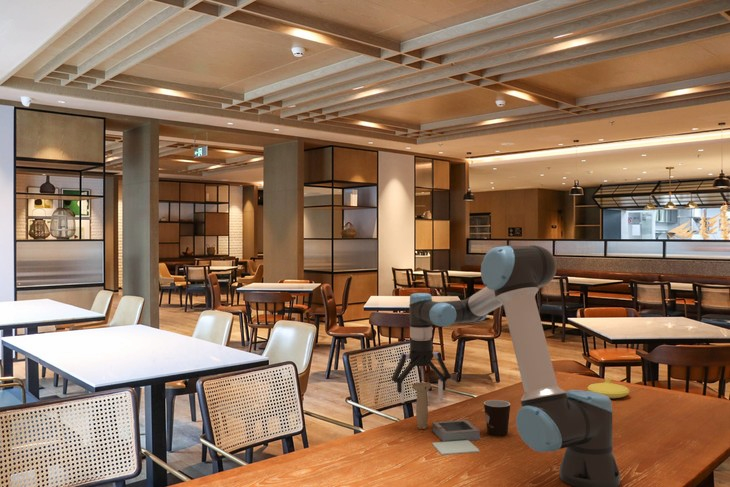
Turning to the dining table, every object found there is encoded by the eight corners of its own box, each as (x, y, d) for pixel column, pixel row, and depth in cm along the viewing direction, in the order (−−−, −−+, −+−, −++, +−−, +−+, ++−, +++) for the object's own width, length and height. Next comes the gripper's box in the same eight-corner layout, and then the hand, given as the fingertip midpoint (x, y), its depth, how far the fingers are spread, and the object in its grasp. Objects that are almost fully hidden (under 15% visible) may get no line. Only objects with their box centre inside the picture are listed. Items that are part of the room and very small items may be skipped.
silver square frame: (479, 439, 198) (479, 429, 198) (443, 442, 195) (443, 432, 195) (466, 428, 209) (466, 418, 209) (432, 431, 207) (432, 421, 207)
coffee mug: (511, 438, 198) (510, 407, 198) (484, 437, 200) (483, 406, 200) (510, 427, 210) (509, 398, 210) (484, 426, 212) (484, 397, 211)
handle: (410, 427, 211) (409, 383, 211) (426, 424, 214) (425, 381, 214) (418, 431, 207) (417, 386, 207) (434, 428, 210) (433, 384, 210)
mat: (479, 451, 186) (479, 450, 186) (441, 455, 184) (441, 453, 184) (468, 441, 196) (468, 440, 196) (432, 444, 194) (432, 442, 194)
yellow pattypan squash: (632, 394, 251) (632, 377, 251) (625, 403, 238) (625, 385, 238) (592, 389, 259) (591, 373, 259) (583, 398, 246) (583, 380, 246)
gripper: (452, 335, 216) (452, 395, 217) (382, 338, 212) (383, 399, 212) (459, 339, 209) (460, 401, 209) (387, 342, 204) (388, 405, 205)
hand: (421, 400), depth 211 cm, fingers open, 13 cm apart
